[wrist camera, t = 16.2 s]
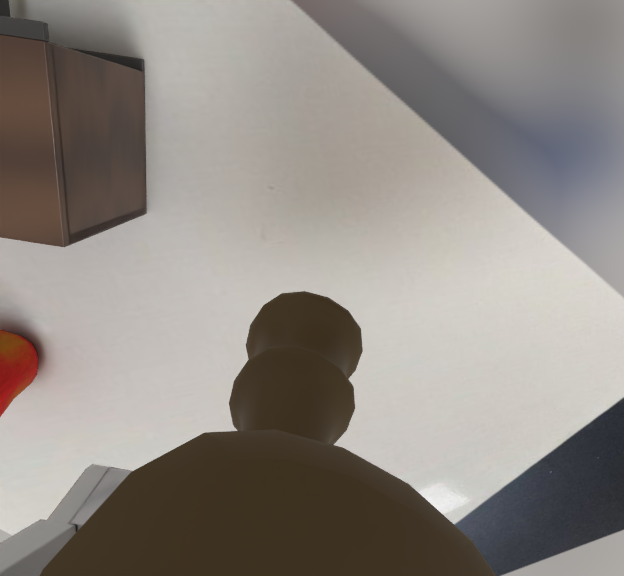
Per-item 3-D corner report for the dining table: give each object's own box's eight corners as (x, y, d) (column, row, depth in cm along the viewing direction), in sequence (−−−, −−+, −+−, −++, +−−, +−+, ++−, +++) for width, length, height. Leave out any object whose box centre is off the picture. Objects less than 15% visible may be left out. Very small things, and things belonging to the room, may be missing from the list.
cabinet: (-45, 31, 33) (-241, -21, 22) (144, 59, 33) (43, 21, 22) (-19, 188, 38) (-170, 211, 27) (146, 213, 38) (64, 247, 26)
